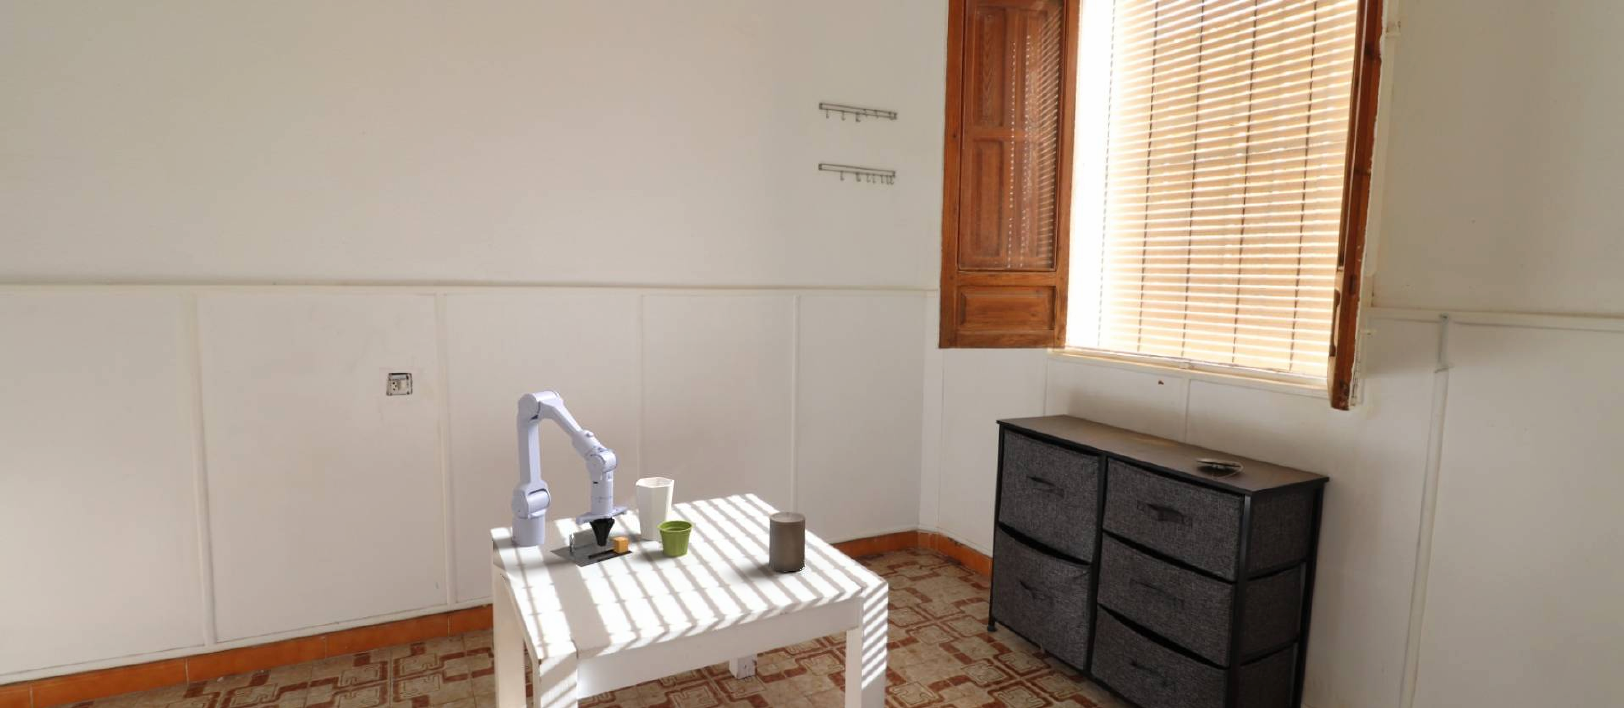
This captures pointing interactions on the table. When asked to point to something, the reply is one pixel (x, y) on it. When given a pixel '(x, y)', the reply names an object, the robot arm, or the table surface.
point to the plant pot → (675, 537)
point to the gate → (583, 537)
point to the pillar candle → (787, 541)
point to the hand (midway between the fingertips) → (601, 545)
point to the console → (588, 553)
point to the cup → (653, 505)
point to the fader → (620, 544)
